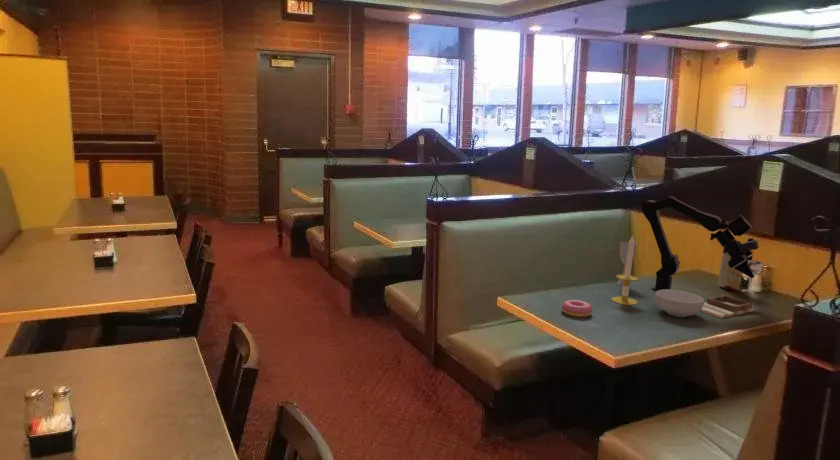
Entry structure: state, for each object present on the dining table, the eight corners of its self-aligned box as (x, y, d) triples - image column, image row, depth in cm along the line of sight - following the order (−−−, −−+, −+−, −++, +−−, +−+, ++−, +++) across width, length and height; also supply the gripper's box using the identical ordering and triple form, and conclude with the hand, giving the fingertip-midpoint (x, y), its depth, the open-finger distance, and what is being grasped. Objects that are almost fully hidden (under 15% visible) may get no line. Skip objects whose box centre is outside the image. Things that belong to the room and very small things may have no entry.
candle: (622, 296, 256) (630, 230, 250) (643, 303, 247) (652, 236, 242) (605, 299, 250) (613, 232, 245) (626, 306, 242) (635, 237, 237)
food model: (713, 286, 279) (720, 242, 275) (722, 285, 282) (729, 241, 279) (735, 292, 271) (742, 247, 267) (743, 291, 274) (750, 246, 271)
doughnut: (580, 307, 237) (581, 297, 237) (598, 317, 227) (599, 306, 226) (555, 309, 233) (556, 298, 233) (572, 319, 223) (573, 308, 223)
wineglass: (756, 295, 245) (762, 265, 242) (737, 291, 248) (743, 261, 246) (758, 291, 251) (763, 262, 248) (739, 287, 254) (744, 258, 252)
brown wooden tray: (721, 318, 234) (722, 310, 234) (690, 307, 245) (691, 300, 245) (753, 311, 246) (754, 303, 245) (722, 301, 256) (723, 294, 256)
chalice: (633, 283, 276) (638, 243, 273) (631, 287, 270) (636, 245, 267) (615, 280, 279) (620, 240, 276) (613, 284, 273) (618, 243, 270)
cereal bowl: (682, 323, 226) (685, 304, 224) (644, 309, 239) (646, 291, 238) (711, 317, 235) (714, 299, 233) (672, 304, 248) (675, 287, 247)
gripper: (742, 234, 240) (769, 269, 235) (751, 229, 254) (777, 261, 250) (717, 250, 246) (743, 284, 242) (727, 244, 260) (752, 276, 256)
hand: (754, 276), depth 247 cm, fingers closed on wineglass, 6 cm apart
